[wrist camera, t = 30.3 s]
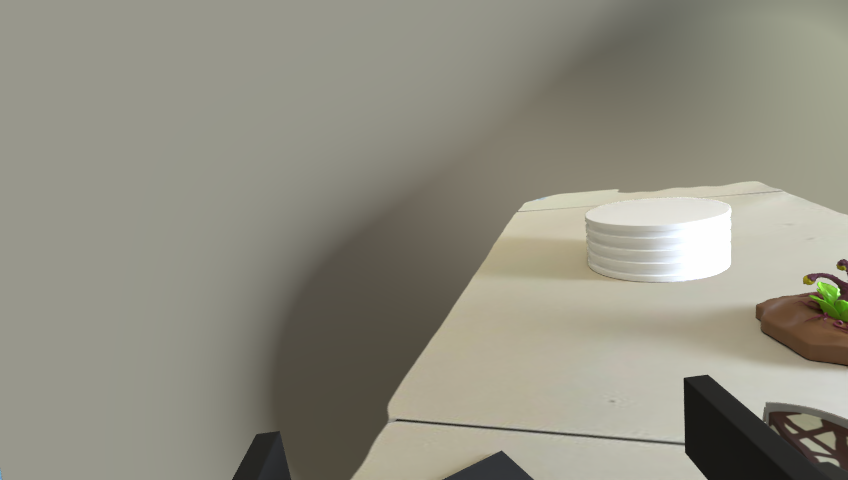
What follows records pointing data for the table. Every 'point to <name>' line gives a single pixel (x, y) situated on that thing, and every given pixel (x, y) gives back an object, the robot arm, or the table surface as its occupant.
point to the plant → (811, 319)
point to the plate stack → (659, 239)
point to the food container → (810, 431)
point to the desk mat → (492, 470)
